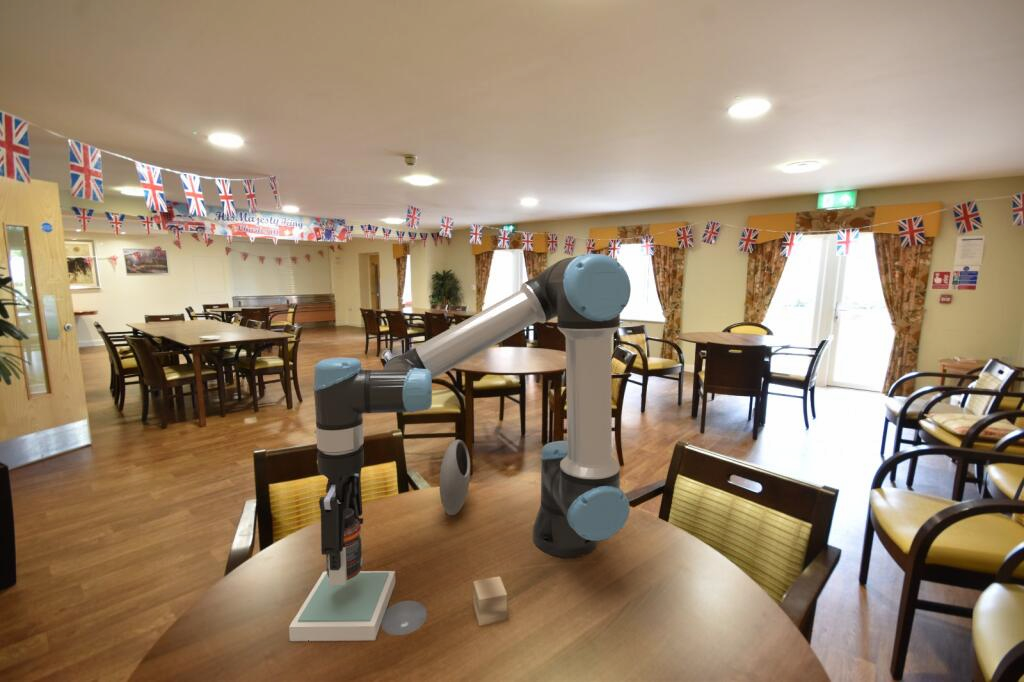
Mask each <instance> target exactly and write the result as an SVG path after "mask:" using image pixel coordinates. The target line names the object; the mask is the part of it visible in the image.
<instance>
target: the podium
mask: <svg viewBox="0 0 1024 682" xmlns="http://www.w3.org/2000/svg"><path fill="white" fill-rule="evenodd" d="M395 585H396V571H395V570H367V571H366V570H363V571H362V570H361V571H360V572H359V573H358V574H357V575H356V576H355V577H353V578H351V579H349V580H347V583H346V584H345V585H329V577H328V575H327V570H326V571H322V574H321V575H320V577H319V579H318V580H317V581H316V583H315V585H314V586H313V588H312V590H311V591H310V593H309V594H308V596H307V597H306V599H305V600H304V602H303V603H302V605H301V607H300V608H299V609H298V610H299V611H298V612H297V614H296V615H295V617H294V618H293V620H292V621H291V623H290V625H289V626H288V632H289V635H288V636H289V642H332V641H333V642H337V641H338V642H340V641H343V642H345V641H347V642H349V641H351V642H352V641H376V639H377V635H378V632H379V630H380V627H381V622H382V619H383V616H384V613H385V611H386V610H387V609H388V605H389V601H390V599H391V596H392V593H393V591H394V589H395ZM308 640H309V641H308Z"/></svg>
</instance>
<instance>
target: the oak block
mask: <svg viewBox="0 0 1024 682" xmlns="http://www.w3.org/2000/svg"><path fill="white" fill-rule="evenodd" d="M473 607H474V612H475V615H476V619H477V622H478V625H479V626H485V625H489V624H495V623H499V622H503V621H507V620H508V593H507V590H506V589H505V586H504V583H503V581H502V578H501V576H493V577H488V578H483V579H482V578H481V579H477V580H473Z"/></svg>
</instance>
